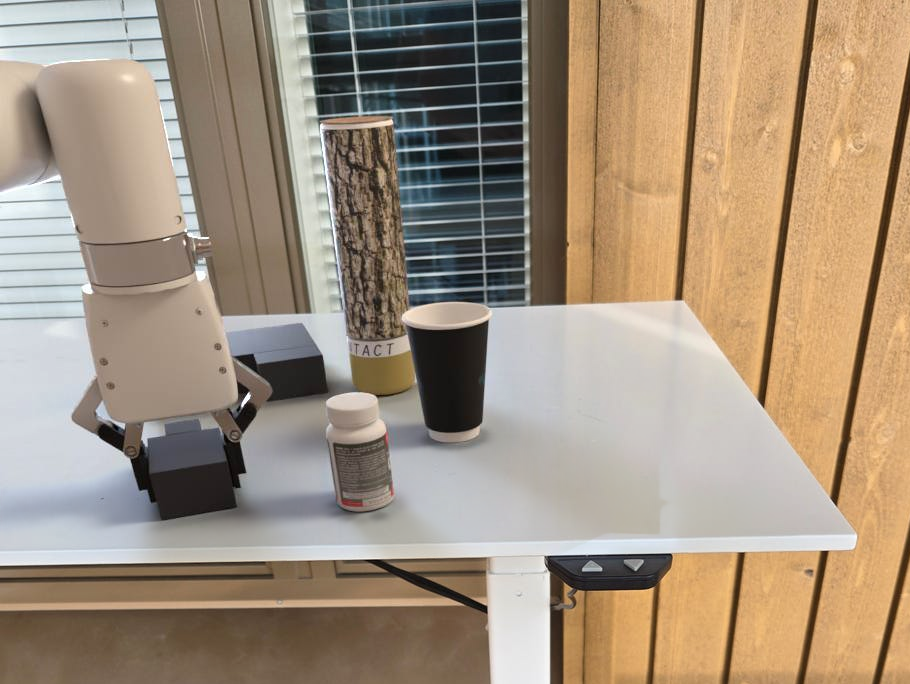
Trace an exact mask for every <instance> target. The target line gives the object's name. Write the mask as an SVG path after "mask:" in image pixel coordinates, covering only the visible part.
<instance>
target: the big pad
mask: <svg viewBox="0 0 910 684" xmlns="http://www.w3.org/2000/svg"><path fill="white" fill-rule="evenodd" d="M225 333H226V336H227V340H228V344H229V349H230V353H231V355H232V356H233V357H235V358H236V359H237V360H239V361H240V362H242V363H243V364H244V365H246V366H247V367H248V368H250V369H251V370H253V371H254V372H255V373H257V374H258V375H259V376H261V377H262V378H264V379H265V380H266V381H268V382H269V383H270V386H271V388H272V394H271V396H270V397H269V398H268V400H267V401H266V402H273V401H278V400H286V399H292V398H298V397H304V396H305V397H306V396H311V395H318V394H325V393H329V388H328V381H327V373H326V366H325V359H324V354H323V353H322V352H321V350H320V349H319V347H318V345H317V343H316V342H315V340H314V339H313V337H312V336H311V334H310V332H309V331H308V330H307V328H306V326H305V325H304V323H303V322H297V323H290V324H281V325H273V326H265V327H257V328H249V329H243V330H242V329H241V330H236V331H228V332H225ZM236 381H237V380H236ZM237 389H238V394H243V393H249V389H248V388H247V387H245V386H244V385H242V384H241V383H240V382H238V381H237Z"/></svg>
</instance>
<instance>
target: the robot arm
mask: <svg viewBox="0 0 910 684" xmlns="http://www.w3.org/2000/svg"><path fill="white" fill-rule="evenodd" d="M163 114H164V113H163V109H162V105H161V101H160V96H159V93H158V89H157V85H156V81H155V78H154V77H153V75H152V74H151V71H150V70H149V69H148V68H147V67H146V66H145V65H144V64H143V63H141V62H139V61H136V60H133V59H128V58H100V59H99V58H97V59H81V60H80V59H79V60H78V59H77V60H69V61H68V60H67V61H57V62H54V63H50V64H42V63H35V62H27V61H18V60H0V195H2V194H6V193H8V192H12V191H17V190H21V189H25V188H30V187H33V186H36V185H40V184H43V183H47V182H50V181H54V180H58V179H60V181H61V185H62V189H63V192H64V195H65V199H66V203H67V207H68V210H69V213H70V214H69V215H70V218H71V221H72V224H73V228H74V231H75V235H76V239H77V240H78V245H79V249H80V252H81V256H82V260H83V263H84V267H85V271H86V274H87V279H88V281H89V282H87V283H85V284H83V285H82V286H81V298H82V306H83V307H82V308H83V315H84V321H85V328H86V333H87V338H88V343H89V348H90V354H91V357H92V358H91V359H92V362H93V363H92V364H93V367H94V371H95V375H94V377H93V378H92V380H91V381H90V382H89V384H88V385H87V387H86V389H85V390H84V391H83V393H82V395H81V396H80V398H79V399H78V401H77V402H76V404H75V406H74V407H73V408H72V410H71V415H70V417H71V420H72V422H73V423H74V424H76V425H78V426H80V428H82V429H84V430H86V431H87V432H89V433H91V434H94V435H96V436H97V437H98V438H99V439H100V440H102V441H103V442H105V443H107V444H108V445H110V446H111V447H113V448H115V449H117V450H118V451H120V452H121V453H123V455H124V456H125V457H126V458H128V459H129V460H130V464H131V467H132V472H133V475H134V479H135V482H136V485H137V489H138V491H139V492H142V491H147V494H148V495H147V496H148V498H149V503H151V504H153V503H157V501H156V497H155V494H154V490H153V486H152V483H151V479H150V476H149V454H148V445H146V444H145V443H144V441H143V440H142V438H143V431H144V425H145V423H149V422H155V421H162V420H170V419H176V418H185V417H190V416H197V415H204V414H210V415H211V416H212V417H213V419H214V420H215V422H216V423H217V425H218V427H219V428H220V430H221V433H222V434H221V440H222V444H223V448H224V450H225V454H226V458H227V462H228V467H229V471H230V476H231V480H232V485H233V488H234V489H242V486H241V481H240V477H239V475H244V474H245V475H246V474H247V469H246V464H245V459H244V454H243V449H242V444H241V440H242V439H243V434H245V432H246V431H247V429H248V428H249V426H250V425H251V423H252V422H253V421H254V419H255V418H256V417H257V415H258V412H259V411H260V410H261V409H262V408H263V406H264V405H265V403H266V402H268V401H267V400H268V398H269V397H270V396H271V394H272V388H271V386H270V383H269V382H268V381H266V380H265V379H264V378H262V377H261V376H259V375H258V374H257V373H255V372H254V371H253V370H251V369H250V368H248V367H247V366H246V365H244V364H243V363H242V362H240V361H239V360H237V359H236V358H235V357H233V356H232V355H231V353H230V349H229V344H228V340H227V336H226V333H227V332H226V330H225V325H224V322H223V318H222V314H221V311H220V308H219V304H218V302H217V299H216V295H215V292H214V289H213V287H212V284H211V281H210V280H209V277H208V275H207V273H206V272H205V271H202V270H196V266H195V265H199V261H204V258H213V257H214V255H213V249H212V244H211V241H210V237H201V238H200V237H199V236H193V233H189V232H188V229H187V227H188V226H187V222H186V218H185V213H184V209H183V204H182V199H181V195H180V190H179V185H178V180H177V176H176V172H175V168H174V167H175V166H174V162H173V161H174V160H173V158H172V152H171V147H170V144H169V143H170V142H169V138H168V133H167V129H166V124H165V119H164V115H163ZM236 380H237V381H238V382H240V383H241V384H242V385H244V386H245V387H247V388H248V389H249V392H247V395H246V396H245V398H244V399H242V400H241V401H240V403H239V404H238V405H237V407H236V408H235V410H234V411H232V409H231V407H232V406H234V405H235V404H236V403H237V401H238V399H239V393H238V389H237V381H236ZM102 401H103V405H104V407H105V410H106V413H107V415H108V416H109V418H110V419H111V420H109V419H105V418H104V417H102V416H101V415H100V414H98V413H97V411H96V410H97V409H98V408H99V406H100V404H101V403H102ZM114 421H115V422H117V423H121V424H124V428H123V427H121V426H120V425H118V424H117V423H115V422H114Z"/></svg>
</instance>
